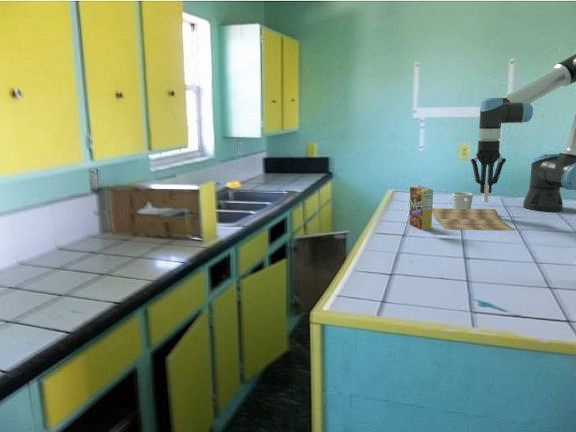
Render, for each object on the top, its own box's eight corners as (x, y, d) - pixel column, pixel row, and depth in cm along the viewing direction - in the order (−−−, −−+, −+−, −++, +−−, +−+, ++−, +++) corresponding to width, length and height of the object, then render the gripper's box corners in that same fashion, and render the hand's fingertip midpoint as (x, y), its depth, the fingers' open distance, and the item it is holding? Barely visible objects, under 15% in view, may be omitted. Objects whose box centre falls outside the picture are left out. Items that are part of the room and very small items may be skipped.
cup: (476, 216, 200) (478, 196, 198) (456, 216, 200) (458, 196, 198) (467, 210, 210) (469, 191, 208) (448, 210, 210) (450, 192, 208)
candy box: (407, 227, 183) (409, 186, 180) (418, 226, 184) (420, 185, 181) (420, 233, 175) (423, 190, 171) (431, 232, 176) (434, 189, 173)
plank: (494, 211, 196) (495, 209, 195) (500, 222, 189) (500, 219, 189) (432, 211, 198) (432, 208, 198) (435, 221, 192) (435, 218, 191)
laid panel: (500, 222, 189) (501, 219, 188) (515, 233, 173) (515, 230, 173) (435, 222, 191) (435, 218, 191) (444, 232, 175) (444, 229, 175)
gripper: (503, 138, 191) (499, 199, 196) (468, 139, 192) (465, 199, 198) (510, 140, 184) (505, 203, 189) (473, 140, 185) (470, 203, 190)
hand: (485, 201), depth 193 cm, fingers closed
